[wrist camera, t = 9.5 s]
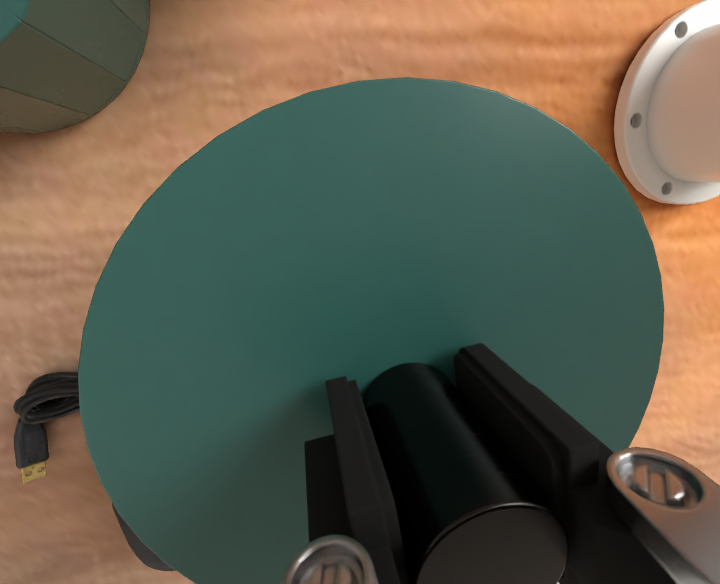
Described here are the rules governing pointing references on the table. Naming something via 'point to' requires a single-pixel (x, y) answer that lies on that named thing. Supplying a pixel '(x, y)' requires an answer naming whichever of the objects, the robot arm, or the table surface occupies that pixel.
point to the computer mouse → (34, 441)
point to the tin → (66, 59)
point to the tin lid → (365, 326)
